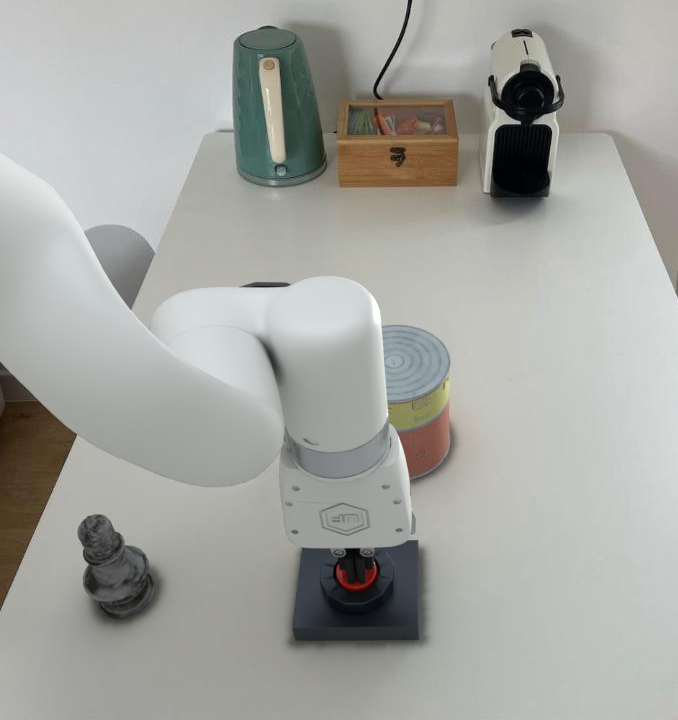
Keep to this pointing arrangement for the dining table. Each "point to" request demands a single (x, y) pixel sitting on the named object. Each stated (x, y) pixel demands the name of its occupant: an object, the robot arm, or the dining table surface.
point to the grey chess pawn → (114, 569)
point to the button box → (358, 598)
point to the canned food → (418, 395)
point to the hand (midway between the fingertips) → (357, 569)
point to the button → (356, 587)
